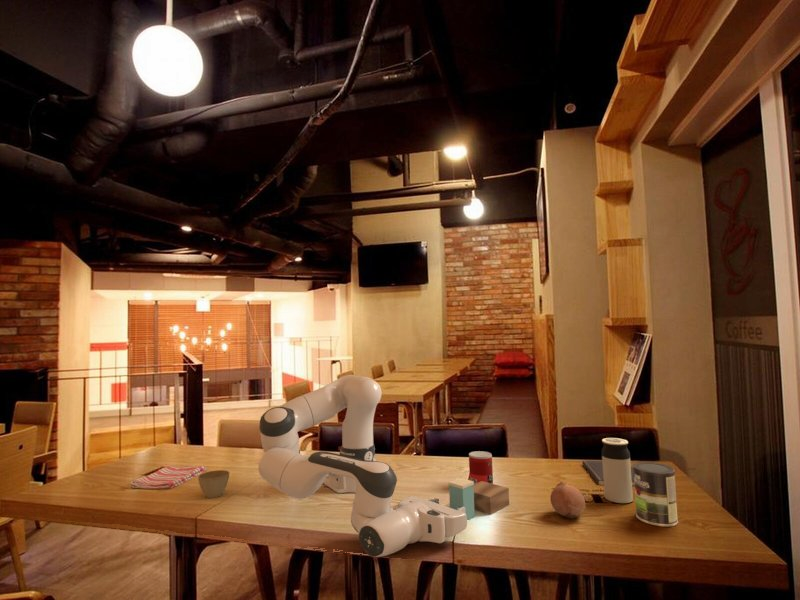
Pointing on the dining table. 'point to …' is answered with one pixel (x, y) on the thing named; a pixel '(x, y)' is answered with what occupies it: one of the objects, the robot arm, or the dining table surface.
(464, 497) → the tea tin
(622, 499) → the travel mug
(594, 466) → the hardcover book
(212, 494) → the flower pot
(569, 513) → the onion
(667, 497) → the coffee can
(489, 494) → the riser block
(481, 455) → the canned food
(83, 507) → the dining table surface
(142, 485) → the dish towel
